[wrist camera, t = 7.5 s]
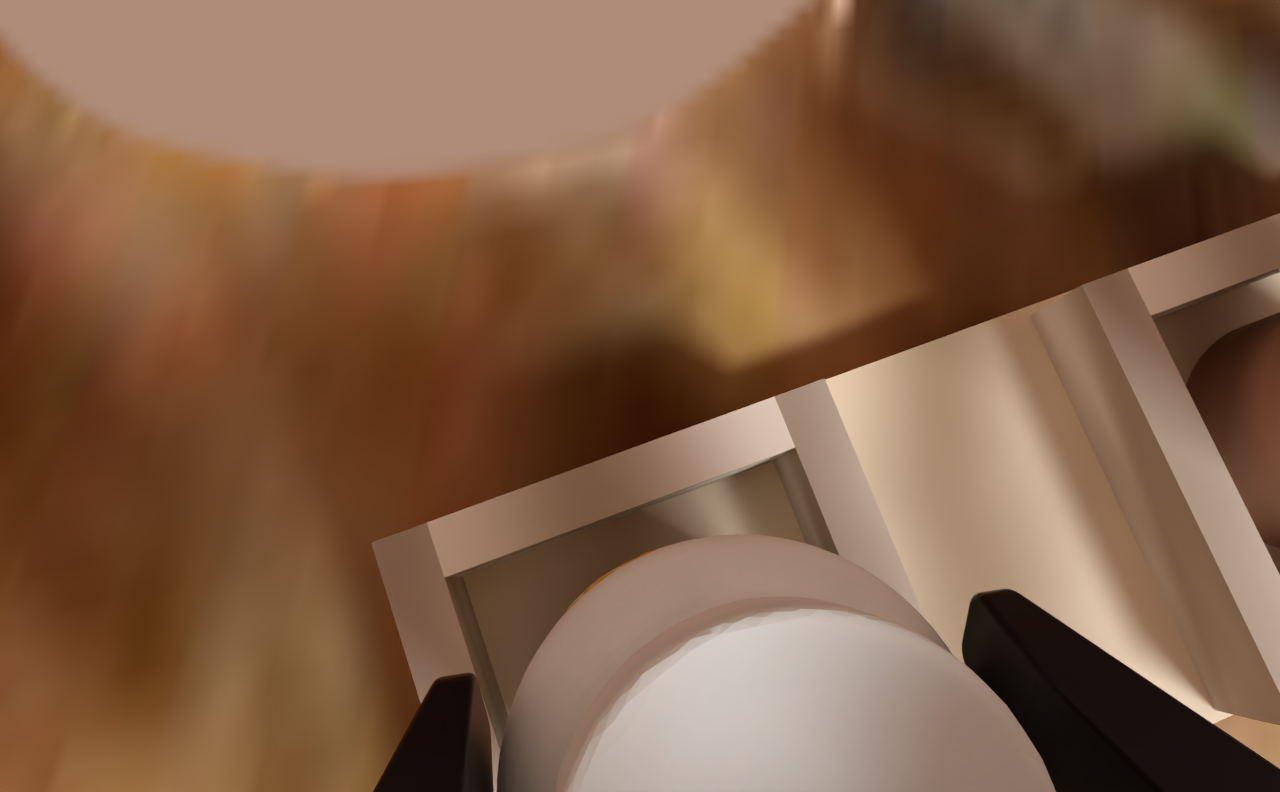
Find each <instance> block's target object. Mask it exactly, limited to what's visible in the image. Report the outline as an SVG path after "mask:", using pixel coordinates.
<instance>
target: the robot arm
mask: <svg viewBox="0 0 1280 792" xmlns="http://www.w3.org/2000/svg"><path fill="white" fill-rule="evenodd" d="M962 655H963V659H964V663H965V665H966V666H968V667H969V668H970V669H971V670H972V671H973V672H974V673H975V674H976V675H977V676H978V677H979V678H980V679H982V680H983V681H984V682H985V683H986V684H987V685H988V686H989V687H990V688H991V689H992V690H993V691H994V693H995V694H996V695H997V696H998V697H999V698H1000V699H1001V700H1002V701H1003V702H1004V703H1005V704H1006V705H1007V706H1008V708H1009V709H1010V711H1011V712H1012V713H1013V715H1014V716H1015V718H1016V719H1017V721H1018V722H1019V724H1020V725H1021V726H1022V728H1023V729H1024V731H1025V732H1026V734H1027V736H1028V737H1029V739H1030V740H1031V742H1032V744H1033V745H1034V747H1035V748H1036V750H1037V751H1038V753H1039V755H1040V756H1041V758H1042V760H1043V762H1044V764H1045V767H1046V769H1047V771H1048V774H1049V776H1050V778H1051V781H1052V783H1053V786H1054V788H1055V791H1056V792H1280V769H1279V768H1278V767H1276V766H1275V765H1273V764H1272V763H1270V762H1269V761H1267V760H1266V759H1264V758H1263V757H1261V756H1260V755H1258V754H1257V753H1255V752H1254V751H1252V750H1251V749H1250V748H1248V747H1247V746H1245V745H1244V744H1242V743H1241V742H1239V741H1238V740H1236V739H1235V738H1233V737H1232V736H1230V735H1229V734H1227V733H1226V732H1224V731H1223V730H1221V729H1220V728H1218V727H1217V726H1215V725H1214V724H1212V723H1211V722H1210V721H1208V720H1207V719H1205V718H1204V717H1202V716H1201V715H1199V714H1198V713H1196V712H1195V711H1193V710H1192V709H1190V708H1189V707H1187V706H1186V705H1184V704H1183V703H1181V702H1180V701H1178V700H1177V699H1175V698H1174V697H1172V696H1171V695H1169V694H1168V693H1167V692H1165V691H1164V690H1162V689H1161V688H1159V687H1158V686H1156V685H1155V684H1153V683H1152V682H1150V681H1149V680H1147V679H1146V678H1144V677H1143V676H1141V675H1140V674H1138V673H1137V672H1135V671H1134V670H1132V669H1131V668H1129V667H1128V666H1126V665H1125V664H1124V663H1122V662H1121V661H1119V660H1118V659H1116V658H1115V657H1113V656H1112V655H1110V654H1109V653H1107V652H1106V651H1104V650H1103V649H1101V648H1100V647H1098V646H1097V645H1095V644H1094V643H1092V642H1091V641H1089V640H1088V639H1086V638H1085V637H1084V636H1082V635H1081V634H1079V633H1078V632H1076V631H1075V630H1073V629H1072V628H1070V627H1069V626H1067V625H1066V624H1064V623H1063V622H1061V621H1060V620H1058V619H1057V618H1055V617H1054V616H1052V615H1051V614H1049V613H1048V612H1046V611H1045V610H1043V609H1042V608H1041V607H1039V606H1038V605H1036V604H1035V603H1033V602H1032V601H1030V600H1029V599H1027V598H1026V597H1024V596H1023V595H1021V594H1020V593H1018V592H1016V591H1014V590H1011V589H998V590H992V591H985V592H979V593H977V594H975V595H974V596H973V597H972V598H971V601H970V604H969V609H968V614H967V619H966V624H965V629H964V634H963V639H962ZM373 792H494V789H493V767H492V745H491V732H490V725H489V720H488V716H487V713H486V709H485V705H484V702H483V698H482V694H481V690H480V687H479V683H478V680H477V678H476V676H475V675H474V674H472V673H462V674H456V675H449V676H443V677H440V678H438V679H436V680H435V681H434V682H433V683H432V685H431V687H430V688H429V690H428V692H427V694H426V696H425V697H424V699H423V701H422V703H421V705H420V707H419V708H418V710H417V712H416V714H415V716H414V718H413V719H412V721H411V723H410V725H409V727H408V729H407V730H406V732H405V734H404V736H403V738H402V740H401V742H400V743H399V745H398V747H397V749H396V751H395V753H394V754H393V756H392V758H391V760H390V762H389V764H388V765H387V767H386V769H385V771H384V773H383V775H382V776H381V778H380V780H379V782H378V784H377V786H376V787H375V789H374V791H373Z"/></svg>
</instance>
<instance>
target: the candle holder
mask: <svg viewBox="0 0 1280 792" xmlns="http://www.w3.org/2000/svg"><path fill="white" fill-rule="evenodd" d="M735 534H746V535H763V536H773V537H779V538H784V539H790V540H794V541H798V542H802V543H805V544H809V545H813V546H816V547H818V548H821V549H823V550H826V551H829V552H831V553H834V554H837V555H839V556H841V557H843V558H845V559H847V560H849V561H851V562H852V563H854V564H856V565H858V566H860V567H862V568H864V569H865V570H867V571H868V572H870V573H871V574H873V575H874V576H876V577H877V578H879V579H880V580H882V581H883V582H884V583H886V584H887V585H889V586H890V587H891V588H892V589H894V590H895V591H896V592H898V593H899V594H900V595H901V596H902V597H903V598H904V599H905V600H906V601H907V602H909V603H910V604H911V605H912V606H913V607H914V608H915V609H916V610H917V611H918V612H919V613H920V614H921V615H922V616H923V617H924V618H925V619H926V621H927V622H928V623H929V624H930V625H931V626H932V627H933V628H934V630H935V631H936V632H937V633H938V635H939V636H940V637H941V639H942V640H943V641H944V643H945V644H946V645H947V647H948V648H949V650H950V651H951V653H952V654H953V656H955V657H956V658H957V659H959V660H960V661H961V662H962V663H964V659H963V655H962V639H963V634H964V629H965V624H966V619H967V614H968V609H969V604H970V601H971V598H972V597H973V596H974V595H975V594H977V593H979V592H985V591H992V590H998V589H1011V590H1014V591H1016V592H1018V593H1020V594H1021V595H1023V596H1024V597H1026V598H1027V599H1029V600H1030V601H1032V602H1033V603H1035V604H1036V605H1038V606H1039V607H1041V608H1042V609H1043V610H1045V611H1046V612H1048V613H1049V614H1051V615H1052V616H1054V617H1055V618H1057V619H1058V620H1060V621H1061V622H1063V623H1064V624H1066V625H1067V626H1069V627H1070V628H1072V629H1073V630H1075V631H1076V632H1078V633H1079V634H1081V635H1082V636H1084V637H1085V638H1086V639H1088V640H1089V641H1091V642H1092V643H1094V644H1095V645H1097V646H1098V647H1100V648H1101V649H1103V650H1104V651H1106V652H1107V653H1109V654H1110V655H1112V656H1113V657H1115V658H1116V659H1118V660H1119V661H1121V662H1122V663H1124V664H1125V665H1126V666H1128V667H1129V668H1131V669H1132V670H1134V671H1135V672H1137V673H1138V674H1140V675H1141V676H1143V677H1144V678H1146V679H1147V680H1149V681H1150V682H1152V683H1153V684H1155V685H1156V686H1158V687H1159V688H1161V689H1162V690H1164V691H1165V692H1167V693H1168V694H1169V695H1171V696H1172V697H1174V698H1175V699H1177V700H1178V701H1180V702H1181V703H1183V704H1184V705H1186V706H1187V707H1189V708H1190V709H1192V710H1193V711H1195V712H1196V713H1198V714H1199V715H1201V716H1202V717H1204V718H1205V719H1207V720H1208V721H1210V722H1211V723H1212V724H1213V723H1216V722H1218V721H1220V720H1222V719H1225V718H1227V717H1229V716H1232V715H1238V716H1242V717H1246V718H1251V719H1255V720H1259V721H1264V722H1268V723H1272V724H1277V725H1280V213H1279V214H1276V215H1274V216H1271V217H1268V218H1265V219H1262V220H1260V221H1257V222H1254V223H1251V224H1249V225H1246V226H1243V227H1240V228H1238V229H1235V230H1232V231H1229V232H1227V233H1224V234H1221V235H1218V236H1216V237H1213V238H1210V239H1207V240H1205V241H1202V242H1199V243H1196V244H1194V245H1191V246H1188V247H1185V248H1182V249H1180V250H1177V251H1174V252H1171V253H1169V254H1166V255H1163V256H1160V257H1158V258H1155V259H1152V260H1149V261H1147V262H1144V263H1141V264H1138V265H1136V266H1133V267H1130V268H1127V269H1125V270H1122V271H1119V272H1116V273H1114V274H1111V275H1108V276H1105V277H1102V278H1100V279H1097V280H1094V281H1091V282H1089V283H1086V284H1083V285H1081V286H1079V287H1078V288H1076V289H1074V290H1071V291H1069V292H1066V293H1063V294H1060V295H1058V296H1055V297H1052V298H1049V299H1047V300H1044V301H1041V302H1038V303H1036V304H1033V305H1030V306H1027V307H1024V308H1022V309H1019V310H1016V311H1013V312H1011V313H1008V314H1005V315H1002V316H1000V317H997V318H994V319H991V320H989V321H986V322H983V323H980V324H978V325H975V326H972V327H969V328H967V329H964V330H961V331H958V332H956V333H953V334H950V335H947V336H945V337H942V338H939V339H936V340H934V341H931V342H928V343H925V344H922V345H920V346H917V347H914V348H911V349H909V350H906V351H903V352H900V353H898V354H895V355H892V356H889V357H887V358H884V359H881V360H878V361H876V362H873V363H870V364H867V365H865V366H862V367H859V368H856V369H854V370H851V371H848V372H845V373H843V374H840V375H837V376H834V377H832V378H829V379H826V380H825V378H824V379H821V380H818V381H816V382H813V383H810V384H807V385H805V386H802V387H799V388H796V389H793V390H791V391H788V392H785V393H782V394H780V395H777V396H774V397H771V398H769V399H766V400H763V401H760V402H758V403H755V404H752V405H749V406H747V407H744V408H741V409H738V410H736V411H733V412H730V413H727V414H725V415H722V416H719V417H716V418H713V419H711V420H708V421H705V422H702V423H700V424H697V425H694V426H691V427H689V428H686V429H683V430H680V431H678V432H675V433H672V434H669V435H667V436H664V437H661V438H658V439H656V440H653V441H650V442H647V443H645V444H642V445H639V446H636V447H633V448H631V449H628V450H625V451H622V452H620V453H617V454H614V455H611V456H609V457H606V458H603V459H600V460H598V461H595V462H592V463H589V464H587V465H584V466H581V467H578V468H576V469H573V470H570V471H567V472H565V473H562V474H559V475H556V476H553V477H551V478H548V479H545V480H542V481H540V482H537V483H534V484H531V485H529V486H526V487H523V488H520V489H518V490H515V491H512V492H509V493H507V494H504V495H501V496H498V497H496V498H493V499H490V500H487V501H485V502H482V503H479V504H476V505H473V506H471V507H468V508H465V509H462V510H460V511H457V512H454V513H451V514H449V515H446V516H443V517H440V518H438V519H435V520H432V521H429V522H427V523H424V524H421V525H418V526H416V527H413V528H410V529H407V530H404V531H402V532H399V533H396V534H393V535H391V536H388V537H385V538H382V539H380V540H377V541H374V542H371V545H372V548H373V551H374V554H375V558H376V561H377V564H378V567H379V571H380V574H381V577H382V580H383V584H384V587H385V590H386V593H387V596H388V600H389V603H390V606H391V609H392V613H393V616H394V619H395V622H396V626H397V629H398V632H399V635H400V638H401V642H402V645H403V648H404V651H405V655H406V658H407V661H408V664H409V668H410V671H411V674H412V677H413V681H414V684H415V687H416V690H417V693H418V697H419V700H420V703H422V701H423V699H424V697H425V696H426V694H427V692H428V690H429V688H430V687H431V685H432V683H433V682H434V681H435V680H436V679H438V678H440V677H443V676H449V675H456V674H462V673H472V674H474V675H475V676H476V678H477V680H478V683H479V687H480V690H481V694H482V698H483V702H484V705H485V709H486V713H487V716H488V720H489V725H490V732H491V745H492V767H493V789H494V792H497V773H498V764H499V754H500V750H501V745H502V740H503V736H504V731H505V727H506V722H507V719H508V716H509V713H510V710H511V707H512V704H513V701H514V698H515V695H516V693H517V690H518V688H519V686H520V683H521V681H522V679H523V676H524V674H525V672H526V669H527V667H528V666H529V664H530V662H531V660H532V659H533V657H534V655H535V653H536V652H537V650H538V649H539V647H540V646H541V644H542V643H543V641H544V640H545V639H546V637H547V636H548V634H549V633H550V631H551V630H552V628H553V627H554V626H555V624H556V623H557V622H558V620H559V619H560V618H561V617H562V616H563V614H564V613H565V611H566V610H567V609H568V607H569V606H570V605H571V603H572V602H573V601H574V600H575V599H576V598H577V597H578V596H579V595H580V594H581V593H582V592H583V591H584V590H585V589H586V588H588V587H589V586H590V585H591V584H592V583H593V582H594V581H596V580H597V579H599V578H600V577H602V576H603V575H605V574H606V573H608V572H609V571H611V570H613V569H615V568H617V567H619V566H621V565H622V564H624V563H626V562H628V561H630V560H632V559H635V558H637V557H639V556H640V555H642V554H644V553H646V552H650V551H654V550H656V549H659V548H661V547H665V546H668V545H672V544H675V543H679V542H683V541H687V540H693V539H699V538H705V537H711V536H718V535H735ZM964 664H965V663H964Z"/></svg>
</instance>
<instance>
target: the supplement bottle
mask: <svg viewBox="0 0 1280 792" xmlns="http://www.w3.org/2000/svg"><path fill="white" fill-rule="evenodd" d="M497 792H1056V791H1055V788H1054V786H1053V783H1052V781H1051V778H1050V776H1049V774H1048V771H1047V769H1046V767H1045V764H1044V762H1043V760H1042V758H1041V756H1040V755H1039V753H1038V751H1037V750H1036V748H1035V747H1034V745H1033V744H1032V742H1031V740H1030V739H1029V737H1028V736H1027V734H1026V732H1025V731H1024V729H1023V728H1022V726H1021V725H1020V724H1019V722H1018V721H1017V719H1016V718H1015V716H1014V715H1013V713H1012V712H1011V711H1010V709H1009V708H1008V706H1007V705H1006V704H1005V703H1004V702H1003V701H1002V700H1001V699H1000V698H999V697H998V696H997V695H996V694H995V693H994V691H993V690H992V689H991V688H990V687H989V686H988V685H987V684H986V683H985V682H984V681H983V680H982V679H980V678H979V677H978V676H977V675H976V674H975V673H974V672H973V671H972V670H971V669H970V668H969V667H968V666H966V665H965V664H964V663H962V662H961V661H960V660H959V659H957V658H956V657H955V656H953V654H952V653H951V651H950V650H949V648H948V647H947V645H946V644H945V643H944V641H943V640H942V639H941V637H940V636H939V635H938V633H937V632H936V631H935V630H934V628H933V627H932V626H931V625H930V624H929V623H928V622H927V621H926V619H925V618H924V617H923V616H922V615H921V614H920V613H919V612H918V611H917V610H916V609H915V608H914V607H913V606H912V605H911V604H910V603H909V602H907V601H906V600H905V599H904V598H903V597H902V596H901V595H900V594H899V593H898V592H896V591H895V590H894V589H892V588H891V587H890V586H889V585H887V584H886V583H884V582H883V581H882V580H880V579H879V578H877V577H876V576H874V575H873V574H871V573H870V572H868V571H867V570H865V569H864V568H862V567H860V566H858V565H856V564H854V563H852V562H851V561H849V560H847V559H845V558H843V557H841V556H839V555H837V554H834V553H831V552H829V551H826V550H823V549H821V548H818V547H816V546H813V545H809V544H805V543H802V542H798V541H794V540H790V539H784V538H779V537H773V536H763V535H746V534H735V535H718V536H711V537H705V538H699V539H693V540H687V541H683V542H679V543H675V544H672V545H668V546H665V547H661V548H659V549H656V550H654V551H650V552H646V553H644V554H642V555H640V556H639V557H637V558H635V559H632V560H630V561H628V562H626V563H624V564H622V565H621V566H619V567H617V568H615V569H613V570H611V571H609V572H608V573H606V574H605V575H603V576H602V577H600V578H599V579H597V580H596V581H594V582H593V583H592V584H591V585H590V586H589V587H588V588H586V589H585V590H584V591H583V592H582V593H581V594H580V595H579V596H578V597H577V598H576V599H575V600H574V601H573V602H572V603H571V605H570V606H569V607H568V609H567V610H566V611H565V613H564V614H563V616H562V617H561V618H560V619H559V620H558V622H557V623H556V624H555V626H554V627H553V628H552V630H551V631H550V633H549V634H548V636H547V637H546V639H545V640H544V641H543V643H542V644H541V646H540V647H539V649H538V650H537V652H536V653H535V655H534V657H533V659H532V660H531V662H530V664H529V666H528V667H527V669H526V672H525V674H524V676H523V679H522V681H521V683H520V686H519V688H518V690H517V693H516V695H515V698H514V701H513V704H512V707H511V710H510V713H509V716H508V719H507V722H506V727H505V731H504V736H503V740H502V745H501V750H500V754H499V764H498V773H497Z"/></svg>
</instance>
